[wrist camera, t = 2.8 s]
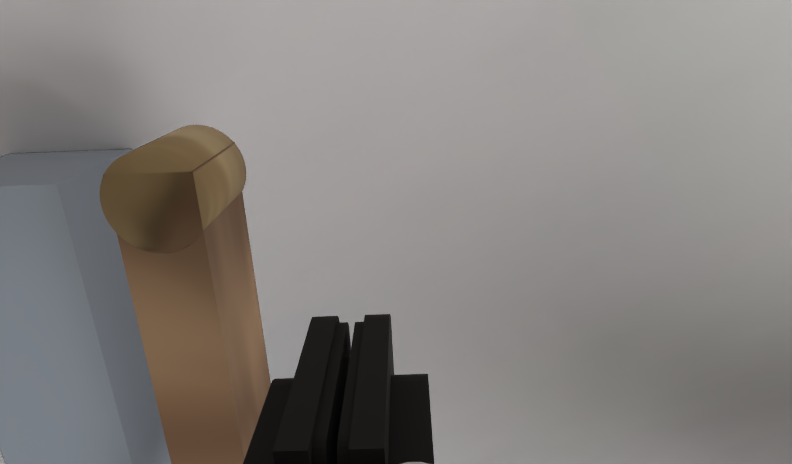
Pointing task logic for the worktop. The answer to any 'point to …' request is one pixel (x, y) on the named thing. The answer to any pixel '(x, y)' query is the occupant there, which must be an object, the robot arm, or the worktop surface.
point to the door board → (69, 321)
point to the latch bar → (192, 288)
